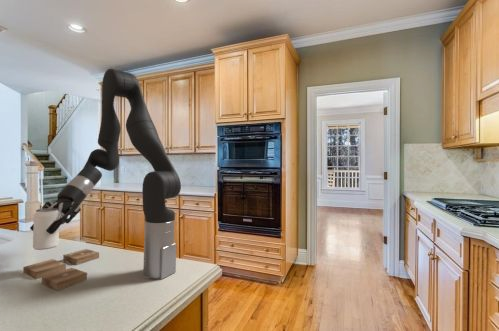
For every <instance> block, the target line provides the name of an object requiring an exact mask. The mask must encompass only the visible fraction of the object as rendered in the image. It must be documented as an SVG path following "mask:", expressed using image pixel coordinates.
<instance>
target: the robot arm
mask: <svg viewBox="0 0 499 331" xmlns="http://www.w3.org/2000/svg"><path fill="white" fill-rule="evenodd" d="M101 83H102V85H101V120H100V127H99V131H98V132H99V133H98V138H97V144H98V146H100V147H101V148H103V149H101V148H97V149H93V150H92V151H91V152H90V154H89V156H88V158H87V160H86V162H85V164H84V166H83V168H82V169H81V170H80V171H79V172H78V173H77V174H76V175H75V177H73V178H72V179H71V180H70V181H69V182H68V183H66V185H65V186H64V187H63V188H62V189H61V190H60V191H59V192H58V194H57V195H56V196H57V199H56V200H55V201H53V202H49V201H46V202H45V203H44V204H43V206H42V207H41V208H40V209H45V208H57V209H58V216H57V218H56V221H54V222H53V223H52V224H51V225H50V226H49V227H48V229H47V230H46V231H47V232H48V233H49V234H53V233H54V232H55V231H56V230H57V229H58V228H59V229H60V227H61V225H64V224H69V223H70V222H71V221H72V220H73V219H74V218H75V217H76V216H77V215H78V214H79V212H81V210H82V209H81V207H80V205H81V204H82V202H84V200H86V198H88V196H89V195H90V193H91V192H92V190H93V189H94V188H95V186H96V185H97V184H98V183H99V182H100V180H101V179H102V177H103V174H102V172H101V170H100V169H103V170H104V171H109V172H113V171H114V170H116V169H117V168H118V166H119V163H120V156H119V154H120V153H119V141H120V135H121V130H122V129H121V123H120V121H119V118H118V115H117V113H116V110H115V106H114V104H115V102H114V101H115V98H116V97H118V98H123V99H124V98H125V99H127V100H128V103H129V105H130V111H129V114H128V116H127V119H126V123H125V129H126V132H127V135H128V137H129V140H130V142H131V144H132V146H133V147H134V148H135V149H136V150H137V151H138V153H139V154H140V155H141V156H143V158H144V159H146V160H147V162H149V164H150V165H151V167H152V169H153V171H149V172H147V174H146V175H145V177H144V178H143V182H142V187H141V188H142V211H143V214H144V235H143V236H144V238H143V239H144V241H143V242H144V243H143V271H142V272H143V273H142V274H143V276H144V278H147V279H160V280H163V279H165V278H166V277H169V276H171V275H172V274H175V273H176V271H177V270H176V267H177V243H176V242H175V227H176V226H175V224H176V221H175V220H176V218H175V217H176V212H175V210H173V209H170V208H168V207H167V205H166V199H168V200H169V199H174V198H176V197H177V196H179V194H180V193H181V189H182V183H181V179H180V176H179V175H178V173H177V171H176V169H175V167H174V165H173V164H172V162H171V160H170V158H169V156H168V155H167V152H166V149H165V148H164V145H163V143H162V140H161V139H160V136H159V133H158V131H157V128H156V126H155V123H154V122H153V119H152V116H151V115H150V112H149V110H148V107H147V105H146V102H145V98H144V96H143V95H144V94H143V91H142V88H141V85H140V82H139V80H138V78H137V77H136V75H135V74H133V73H131V72H128V71H122V70H119V69H114V68H108V69H107V70H106V71H105V72H104V74H103V77H102V82H101ZM98 168H100V169H98ZM33 226H34V223H33V224H32V225H31V226H29V229H30V230H31V231H32V232H33Z"/></svg>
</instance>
